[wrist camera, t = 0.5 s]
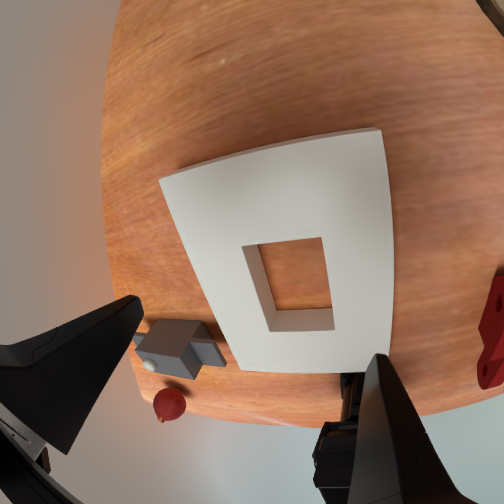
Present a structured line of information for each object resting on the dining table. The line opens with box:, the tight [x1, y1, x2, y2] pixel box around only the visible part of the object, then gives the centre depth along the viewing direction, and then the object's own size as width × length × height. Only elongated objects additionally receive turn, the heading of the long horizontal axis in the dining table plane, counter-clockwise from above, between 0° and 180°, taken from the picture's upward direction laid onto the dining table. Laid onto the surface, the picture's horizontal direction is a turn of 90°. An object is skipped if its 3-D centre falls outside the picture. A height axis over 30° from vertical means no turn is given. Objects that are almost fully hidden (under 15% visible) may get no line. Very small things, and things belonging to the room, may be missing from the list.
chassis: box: [158, 127, 394, 373], centre depth 22 cm, size 22×16×3 cm
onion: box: [153, 387, 186, 423], centre depth 41 cm, size 6×6×8 cm
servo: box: [133, 318, 227, 380], centre depth 31 cm, size 13×4×7 cm, turn 106°
